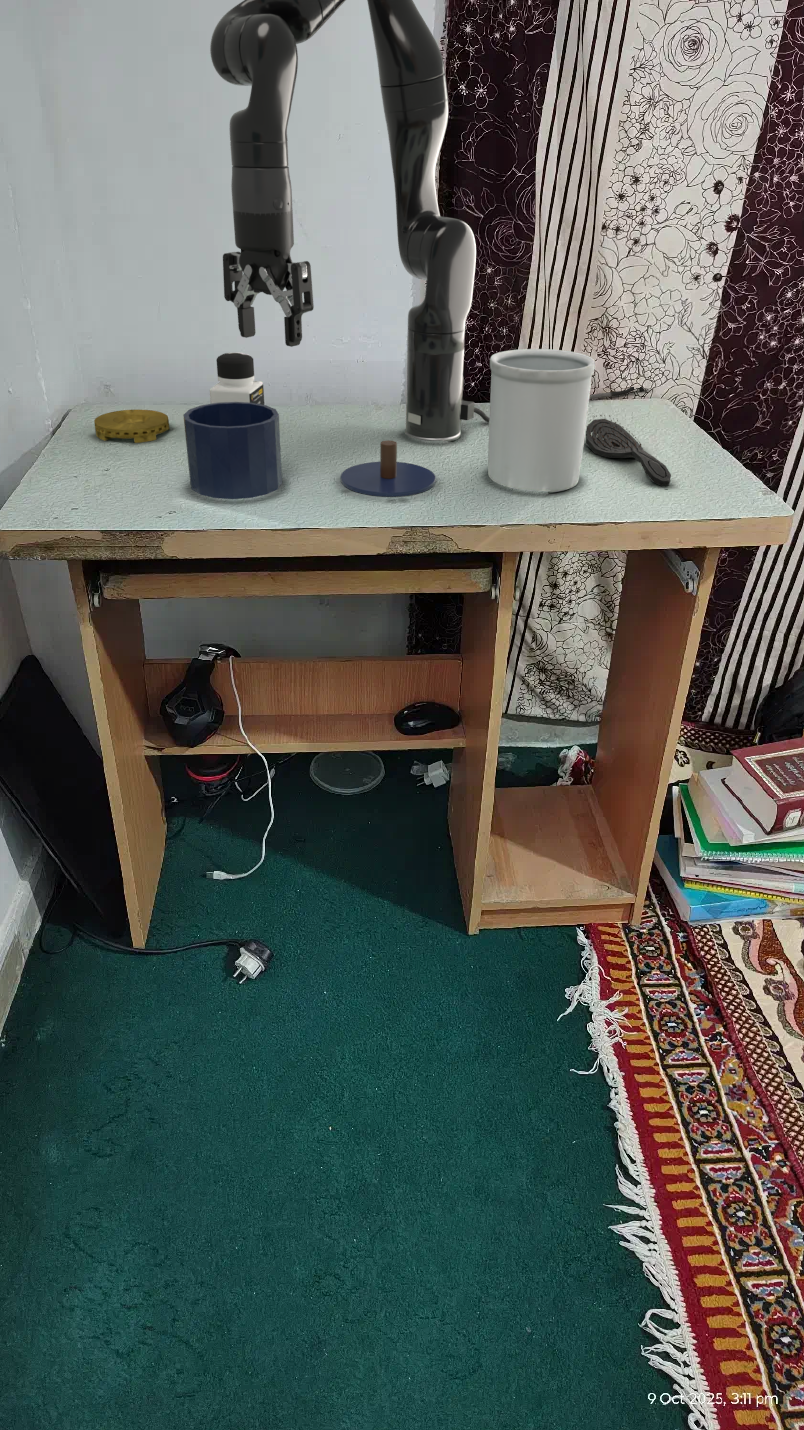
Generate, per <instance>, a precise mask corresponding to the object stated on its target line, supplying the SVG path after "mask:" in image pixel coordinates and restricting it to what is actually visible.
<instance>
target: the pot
mask: <svg viewBox="0 0 804 1430" xmlns="http://www.w3.org/2000/svg"><path fill="white" fill-rule="evenodd" d="M182 416H183V424H184V435H185V444H186V456H187V465H188V475H189V485H190V489H191V490H192V491H193V492H195V493H196V494H199V495H201V496H203V497H209V498H213V499H223V500H241V499H253V498H257V497H260V496H266V495H269V494H272V493H273V492H275V491H278V489H279V488H280V487H281V486H282V484H283V473H282V454H281V453H282V452H281V451H282V450H281V432H280V414H279V412H278V411H277V409H276V408H274V407H271V406H269V405H267V404H264V405H262V404H256V403H248V402H220V403H212V404H211V403H206V404H201V405H197V406H194V407H192V408H190V409H188V410H187V411H186V412H184V413H183V414H182Z"/></svg>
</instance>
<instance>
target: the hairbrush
mask: <svg viewBox="0 0 804 1430" xmlns="http://www.w3.org/2000/svg"><path fill="white" fill-rule="evenodd" d="M597 416H598V415H597V414H596V415H593V418H595V419H590V420H589V423H588V424H587V425H586V428H585V444H586V445H587V446H588V447H589V449H590V450H591V451H592V452H593V453H594V454H595V455H597V456H600V457H603V458H609V459H611V458H612V459H627V458H633V459H635V460H636V461H637V462H638V463H640V465H641V467H642V470H643V471H644V473H645V475H647V477H648V478H649V479H650V480H651V481H652V482H653V483H654V484H656V485H659V486H660V487H662V488H664V487H669V486H670V484H671V477H672V474H671V472H670V471H669V469H668V467H667V466H666V464H665V463H663V462H662V461H660V460H659V459H657V458H656V457H655V456H653V455H652V454H650V453H648V452H647V451H645V450H644V448H643V447H642V443H641V441H639V439H638V438H637V437H636V436H635V434H633V433H631V431H630V430H628V428H626V429H625V428H624V426H622V425H621V424H620V423H617V422H619V420H618V419H617V420H616V421H615V419H614V417H613V418H611V414H609V415H608V417H609V419H607V418H597V419H596V417H597ZM599 416H600V417H603V416H604V417H606V414H604V415H603V414H599ZM612 419H613V420H612ZM630 433H631V434H630Z"/></svg>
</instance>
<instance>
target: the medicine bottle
mask: <svg viewBox="0 0 804 1430" xmlns="http://www.w3.org/2000/svg"><path fill="white" fill-rule="evenodd" d="M216 371H217V372H216V373H217V381H218V383H215V385H213V386H212V387H210V389H209V402H210V404H212V403H220V402H248V403H256V404H262V405H265V391H264V382H263V381H259V380H255V363H254V357H253V356H251V355H250V354H248V353H245V352H239V351H237V352H236V351H235V352H225V353H222V354H220V355H218V356H217V357H216Z"/></svg>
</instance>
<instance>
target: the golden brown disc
mask: <svg viewBox="0 0 804 1430" xmlns="http://www.w3.org/2000/svg"><path fill="white" fill-rule="evenodd" d="M169 420H170V419H169V416H168V415H167V414H166V413H164V412H161V411H158V410H151V409H122V410H121V409H120V410H114V411H110V412H106V413H102V414H101V415H98V416H96V417H95V418H94V421H93V423H94V430H95V435H96V437H97V438H98V439H100V440H102V441H104V442H105V441H108V440H112V439H133V441H134V444H137V443H138V444H140V443H146V442H153V441H157V436H158V435H160V434H163V433H165V432H166V431H170V421H169Z"/></svg>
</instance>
